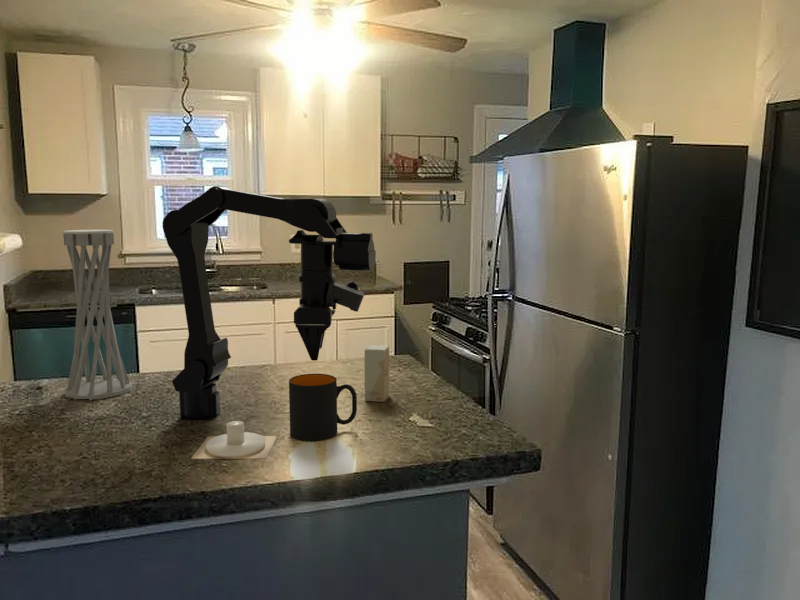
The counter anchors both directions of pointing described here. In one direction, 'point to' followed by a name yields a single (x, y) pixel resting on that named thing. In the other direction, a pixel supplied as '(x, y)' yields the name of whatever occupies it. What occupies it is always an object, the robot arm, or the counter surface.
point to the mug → (316, 407)
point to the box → (376, 373)
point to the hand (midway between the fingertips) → (316, 354)
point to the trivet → (262, 454)
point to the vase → (107, 384)
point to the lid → (235, 442)
